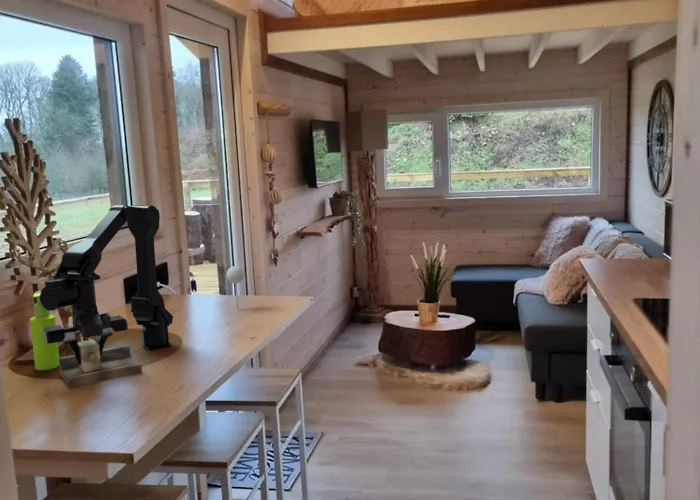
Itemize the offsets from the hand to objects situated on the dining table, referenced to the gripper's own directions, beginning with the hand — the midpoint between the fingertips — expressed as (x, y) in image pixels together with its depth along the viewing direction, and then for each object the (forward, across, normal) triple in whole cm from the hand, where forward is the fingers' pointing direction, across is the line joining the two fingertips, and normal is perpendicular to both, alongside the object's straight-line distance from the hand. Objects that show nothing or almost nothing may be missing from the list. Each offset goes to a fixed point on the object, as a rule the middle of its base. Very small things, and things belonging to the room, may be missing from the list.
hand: (89, 362), depth 165 cm
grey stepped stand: (+3, +2, -1) cm, 4 cm away
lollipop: (+3, +56, +37) cm, 67 cm away
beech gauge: (+1, 0, -2) cm, 2 cm away
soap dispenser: (+4, -8, +14) cm, 16 cm away
